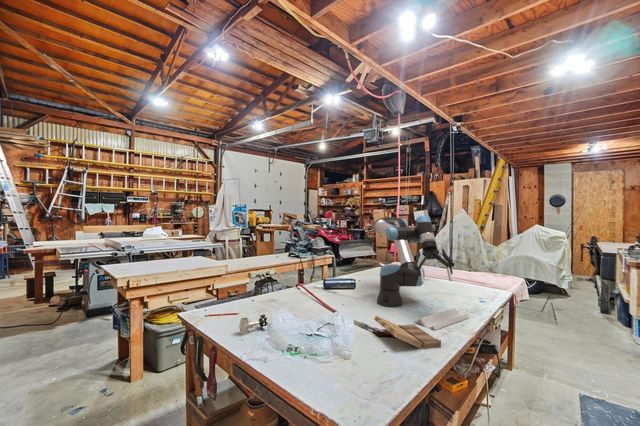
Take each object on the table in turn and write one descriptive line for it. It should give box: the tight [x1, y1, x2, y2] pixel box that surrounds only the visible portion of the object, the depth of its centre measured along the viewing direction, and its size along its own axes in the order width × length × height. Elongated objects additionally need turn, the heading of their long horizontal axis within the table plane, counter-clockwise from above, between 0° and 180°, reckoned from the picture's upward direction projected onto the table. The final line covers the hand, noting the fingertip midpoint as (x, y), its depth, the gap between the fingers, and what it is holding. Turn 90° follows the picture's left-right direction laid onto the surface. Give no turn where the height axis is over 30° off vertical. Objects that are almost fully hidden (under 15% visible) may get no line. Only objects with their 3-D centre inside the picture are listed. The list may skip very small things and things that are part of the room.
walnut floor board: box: [397, 323, 442, 350], centre depth 124 cm, size 20×8×2 cm, turn 14°
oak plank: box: [373, 315, 422, 349], centre depth 122 cm, size 20×12×2 cm, turn 14°
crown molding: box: [413, 307, 470, 331], centre depth 147 cm, size 31×12×4 cm, turn 126°
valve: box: [238, 313, 269, 336], centre depth 128 cm, size 7×7×12 cm
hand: (437, 281), depth 143 cm, fingers open, 13 cm apart
